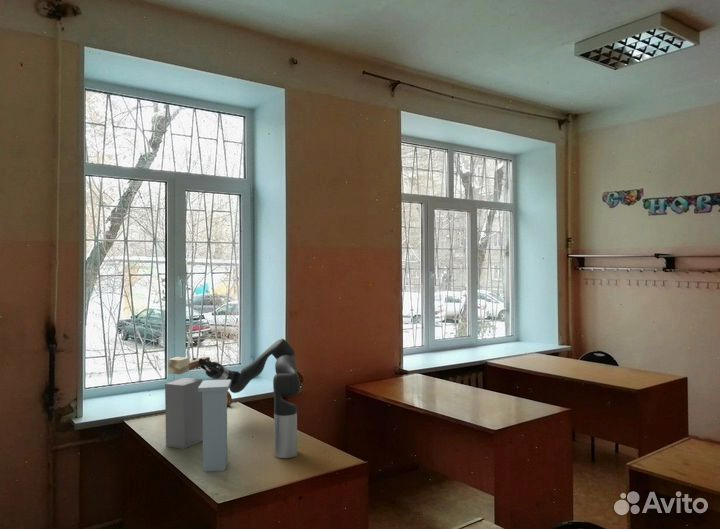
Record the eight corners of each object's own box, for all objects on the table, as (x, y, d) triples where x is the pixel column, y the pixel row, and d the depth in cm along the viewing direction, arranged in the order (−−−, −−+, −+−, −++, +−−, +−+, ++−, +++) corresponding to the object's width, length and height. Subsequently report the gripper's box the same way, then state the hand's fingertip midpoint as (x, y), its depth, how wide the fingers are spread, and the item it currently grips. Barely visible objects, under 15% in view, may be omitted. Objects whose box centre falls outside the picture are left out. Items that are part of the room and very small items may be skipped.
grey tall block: (184, 437, 238) (184, 377, 238) (202, 439, 234) (202, 379, 234) (165, 446, 227) (165, 383, 226) (184, 449, 223) (183, 385, 223)
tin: (232, 406, 286) (232, 391, 286) (227, 408, 284) (227, 392, 284) (217, 401, 297) (217, 386, 297) (212, 403, 294) (212, 388, 294)
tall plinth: (232, 458, 212) (231, 379, 212) (228, 470, 200) (227, 386, 200) (204, 460, 211) (202, 380, 210) (199, 472, 199) (197, 387, 198)
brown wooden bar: (212, 363, 244) (212, 350, 244) (179, 374, 223) (179, 360, 223) (202, 362, 246) (201, 350, 246) (168, 373, 226) (168, 359, 225)
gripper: (227, 380, 248) (206, 369, 233) (203, 378, 253) (181, 366, 239) (231, 365, 251) (211, 353, 237) (207, 363, 256) (186, 351, 242)
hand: (196, 360), depth 238 cm, fingers closed on brown wooden bar, 3 cm apart
